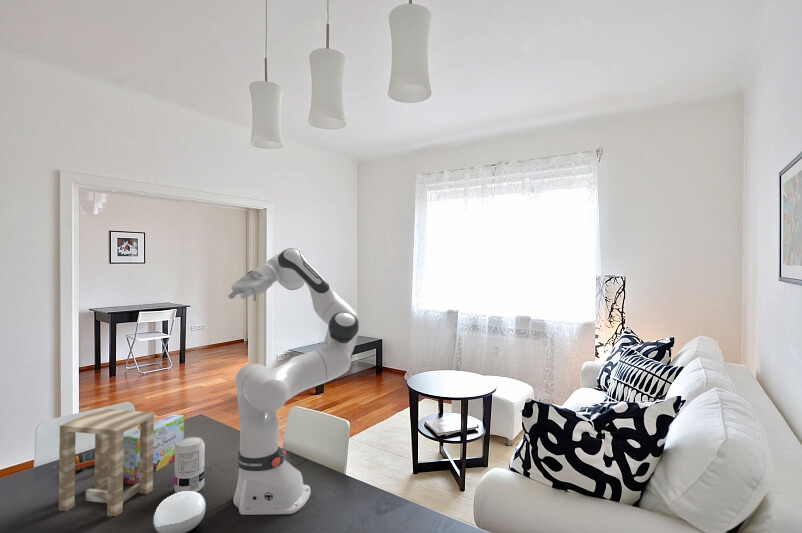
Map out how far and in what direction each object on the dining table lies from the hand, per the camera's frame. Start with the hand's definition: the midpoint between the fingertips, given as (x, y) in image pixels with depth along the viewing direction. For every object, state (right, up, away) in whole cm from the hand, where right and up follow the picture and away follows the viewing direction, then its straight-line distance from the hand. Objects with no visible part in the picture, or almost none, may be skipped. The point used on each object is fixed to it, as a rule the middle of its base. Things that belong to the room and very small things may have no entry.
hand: (235, 297), depth 158 cm
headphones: (-44, -57, -16) cm, 74 cm away
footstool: (-23, -57, -36) cm, 72 cm away
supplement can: (-2, -58, -30) cm, 65 cm away
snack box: (-21, -58, -17) cm, 64 cm away
